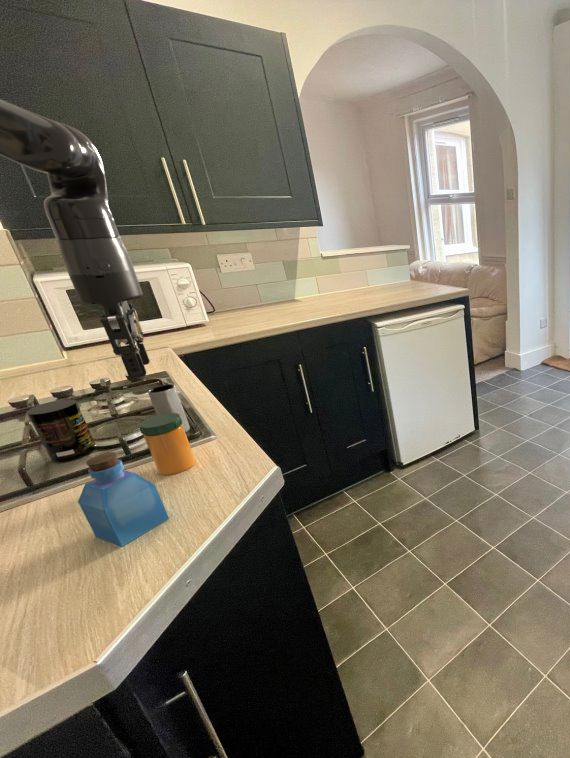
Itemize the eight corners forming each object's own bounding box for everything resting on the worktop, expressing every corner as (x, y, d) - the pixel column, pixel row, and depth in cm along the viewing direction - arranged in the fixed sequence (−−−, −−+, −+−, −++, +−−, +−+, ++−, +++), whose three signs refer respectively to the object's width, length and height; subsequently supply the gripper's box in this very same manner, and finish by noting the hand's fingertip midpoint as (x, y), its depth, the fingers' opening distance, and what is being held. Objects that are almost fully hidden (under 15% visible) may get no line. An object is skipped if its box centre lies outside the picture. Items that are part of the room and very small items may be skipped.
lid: (133, 436, 72) (130, 428, 71) (156, 421, 77) (153, 414, 77) (169, 434, 72) (166, 426, 72) (189, 419, 78) (186, 411, 77)
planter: (169, 438, 88) (152, 393, 84) (160, 433, 90) (143, 389, 86) (193, 430, 91) (178, 386, 88) (185, 425, 94) (169, 382, 90)
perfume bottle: (122, 546, 59) (87, 474, 54) (95, 536, 61) (60, 466, 56) (169, 518, 64) (140, 450, 60) (143, 510, 66) (113, 444, 62)
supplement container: (100, 442, 87) (79, 396, 84) (95, 455, 82) (73, 407, 78) (55, 452, 84) (31, 405, 80) (47, 467, 79) (21, 417, 75)
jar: (150, 476, 75) (132, 431, 71) (171, 459, 80) (154, 416, 77) (184, 474, 75) (166, 428, 72) (202, 457, 81) (187, 414, 77)
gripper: (77, 268, 68) (116, 364, 74) (56, 276, 57) (104, 388, 63) (137, 264, 72) (169, 355, 78) (128, 270, 61) (166, 377, 67)
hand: (140, 370), depth 71 cm, fingers open, 7 cm apart
